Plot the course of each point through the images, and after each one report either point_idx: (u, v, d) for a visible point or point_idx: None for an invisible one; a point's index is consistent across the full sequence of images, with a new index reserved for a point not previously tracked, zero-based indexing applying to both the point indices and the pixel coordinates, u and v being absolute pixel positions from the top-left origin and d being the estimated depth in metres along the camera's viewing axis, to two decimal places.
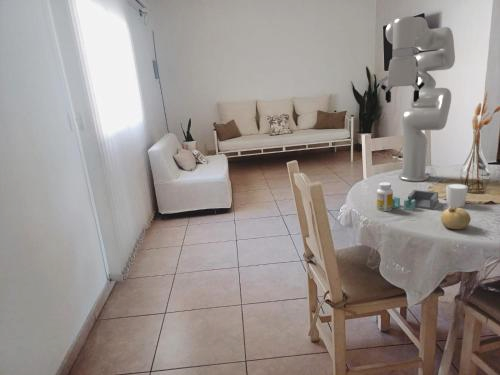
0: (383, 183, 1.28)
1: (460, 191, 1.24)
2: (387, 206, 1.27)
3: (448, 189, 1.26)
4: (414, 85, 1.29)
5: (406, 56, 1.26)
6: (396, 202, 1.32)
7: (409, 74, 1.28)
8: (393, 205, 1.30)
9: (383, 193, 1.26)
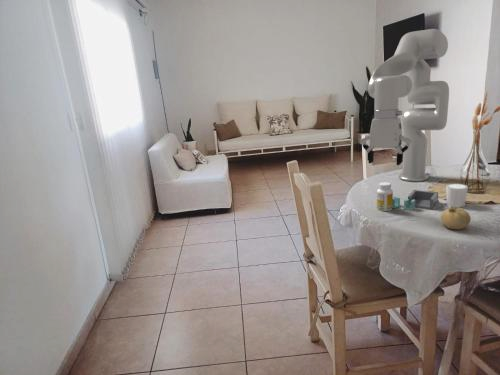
0: (383, 183, 1.28)
1: (460, 191, 1.24)
2: (387, 206, 1.27)
3: (448, 189, 1.26)
4: (397, 148, 1.20)
5: (388, 118, 1.17)
6: (396, 202, 1.32)
7: (392, 136, 1.19)
8: (393, 205, 1.30)
9: (383, 193, 1.26)
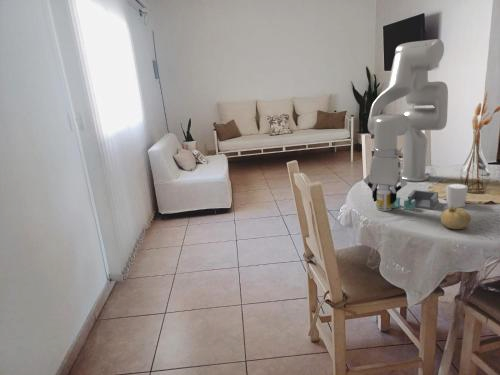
0: None
1: (460, 191, 1.24)
2: (387, 206, 1.27)
3: (448, 189, 1.26)
4: (392, 187, 1.25)
5: (387, 158, 1.21)
6: (396, 202, 1.32)
7: (391, 175, 1.23)
8: (393, 205, 1.30)
9: (382, 193, 1.27)
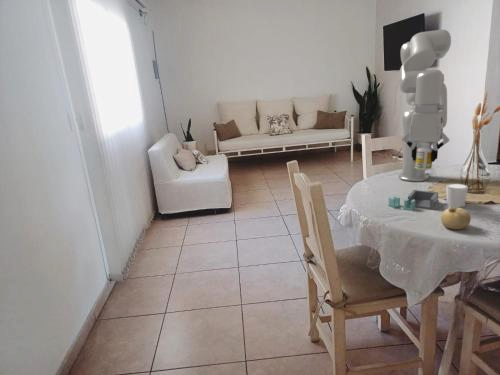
0: None
1: (460, 191, 1.24)
2: (426, 164, 1.24)
3: (448, 189, 1.26)
4: (434, 144, 1.22)
5: (430, 113, 1.18)
6: (396, 202, 1.32)
7: (434, 131, 1.20)
8: (393, 205, 1.30)
9: (423, 151, 1.23)
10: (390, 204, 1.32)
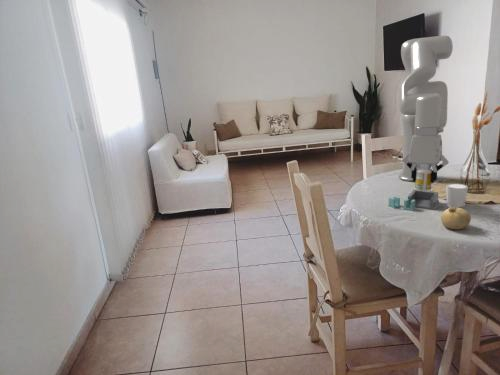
0: None
1: (460, 191, 1.24)
2: (426, 186, 1.26)
3: (448, 189, 1.26)
4: (434, 166, 1.24)
5: (430, 136, 1.20)
6: (396, 202, 1.32)
7: (433, 153, 1.22)
8: (393, 205, 1.30)
9: (423, 172, 1.25)
10: (390, 204, 1.32)
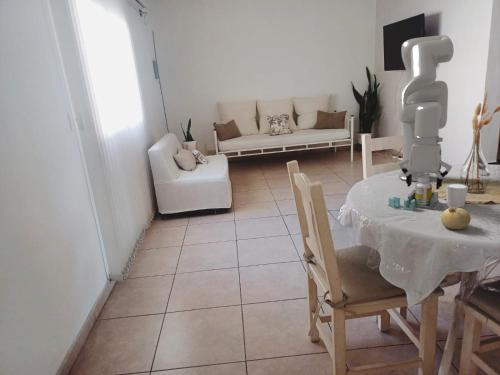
0: (422, 177, 1.28)
1: (460, 191, 1.24)
2: (426, 200, 1.28)
3: (448, 189, 1.26)
4: (437, 173, 1.24)
5: (429, 145, 1.21)
6: (396, 202, 1.32)
7: (432, 162, 1.23)
8: (393, 205, 1.30)
9: (422, 187, 1.27)
10: (390, 204, 1.32)
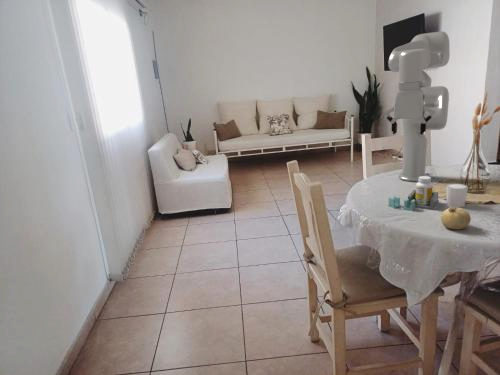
0: (423, 177, 1.28)
1: (460, 191, 1.24)
2: (427, 200, 1.28)
3: (448, 189, 1.26)
4: (421, 118, 1.28)
5: (413, 90, 1.25)
6: (396, 202, 1.32)
7: (416, 107, 1.27)
8: (393, 205, 1.30)
9: (423, 187, 1.27)
10: (390, 204, 1.32)
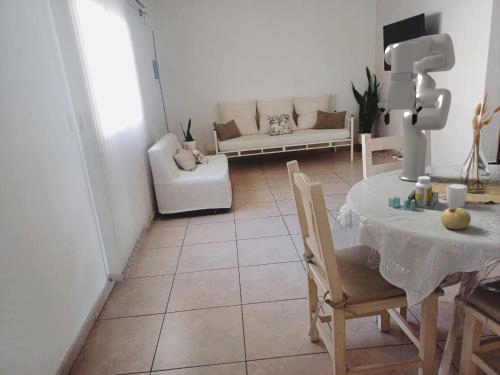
0: (422, 177, 1.28)
1: (460, 191, 1.24)
2: (426, 200, 1.28)
3: (448, 189, 1.26)
4: (412, 109, 1.30)
5: (404, 81, 1.28)
6: (396, 202, 1.32)
7: (408, 98, 1.30)
8: (393, 205, 1.30)
9: (423, 187, 1.27)
10: (390, 204, 1.32)
